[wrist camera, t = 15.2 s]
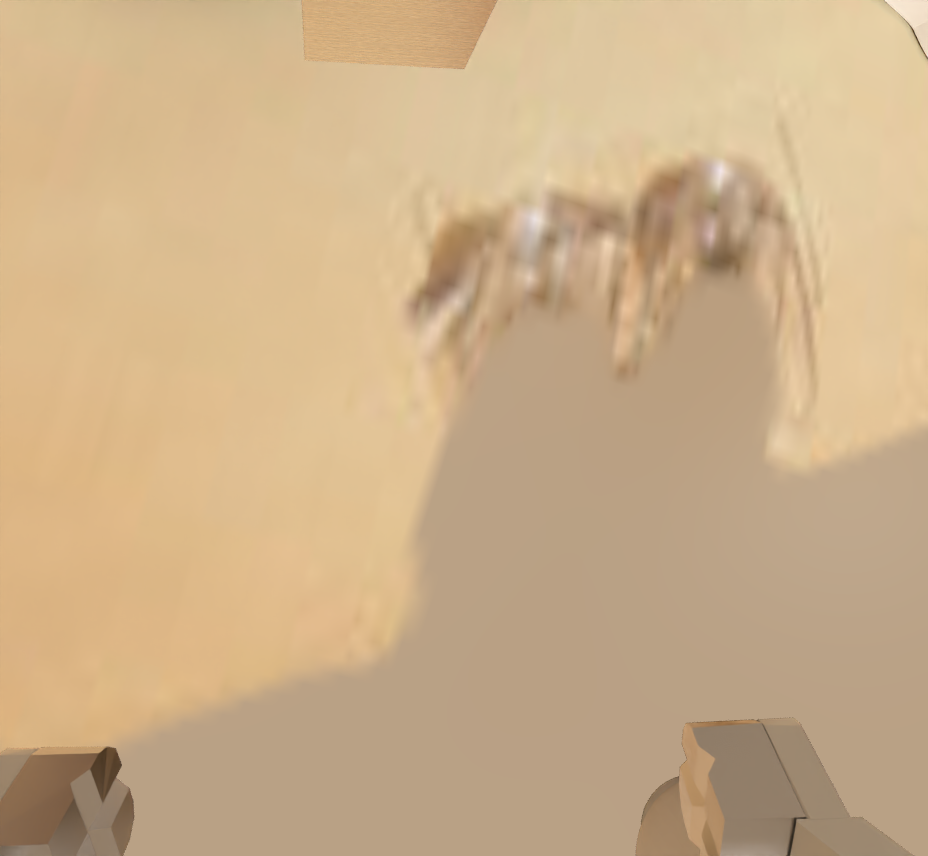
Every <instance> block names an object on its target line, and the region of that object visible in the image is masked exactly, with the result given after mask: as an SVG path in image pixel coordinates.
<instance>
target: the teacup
mask: <svg viewBox="0 0 928 856" xmlns="http://www.w3.org/2000/svg"><path fill="white" fill-rule="evenodd" d="M636 856H700V849H699V848H698V847H697V846H696V845H695V844H694V843H693V842H692V841H691V840H690V839H689V837H688V834H687V830H686V827H685V823H684V819H683V814H682V809H681V803H680V791H679V777H675V778H673V779H671V780H669V781H667V782H665V783H664V784H662V785H661V786H660V787H659V788H658V789H656V791H655V792H654V793H653V794H652V796H651V797H650V798H649V800H648V802H647V804H646V806H645V808H644V811H643V815H642V820H641V828H640V830H639V834H638V838H637V844H636Z"/></svg>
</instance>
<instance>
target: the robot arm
mask: <svg viewBox="0 0 928 856" xmlns="http://www.w3.org/2000/svg"><path fill="white" fill-rule="evenodd" d="M885 1H886V2H887V3H888V4H889V5H890V6H891V7H892V8H893V9H894V10H895V11H897V12H898V13H899V14H900V15H901V16H902V17H903V18H904V19H905V20H906V21H907V22H908V23H909V24H910V26H911V27H912V28H913V30H914V32H915V34H916V36H917V38H918V40H919V42H920V44H921V46H922V48H923V50H924V52H925V54H926V56H927V57H928V0H885ZM682 746H683V749H684V752H685V755H686V758H687V760H686V761H685V762H684V763H683V764H682V765H681V767H680V774H679V775H680V776H679V791H680V803H681V809H682V814H683V819H684V823H685V827H686V830H687V834H688V837H689V839H690V840H691V841H692V842H693V843H694V844H695V845H696V846H697V847H698V848H699V849H700V856H914V855H913V854H911V853H910V852H909V851H907V850H906V849H904V848H903V847H902V846H900V845H899V844H898V843H896V842H895V841H894V840H892V839H891V838H890V837H888V836H887V835H885V834H884V833H883V832H881V831H880V830H879V829H877V828H876V827H875V826H873V825H872V824H871V823H869V822H868V821H867V820H865V819H864V818H862V817H850V815H849V813H848V812H847V810H846V808H845V806H844V804H843V802H842V800H841V798H840V797H839V795H838V793H837V791H836V789H835V788H834V786H833V784H832V782H831V780H830V778H829V776H828V774H827V773H826V771H825V769H824V767H823V765H822V763H821V761H820V760H819V758H818V756H817V754H816V752H815V751H814V748H813V747H812V745H811V744H810V741H809V739H808V737H807V736H806V734H805V732H804V730H803V728H802V726H801V724H800V723H799V722H798V721H797V720H795V719H794V718H777V719H758V720H734V721H714V722H696V723H686V724H685V726H684V729H683V736H682ZM121 766H122V764H121V761H120V758H119V756H118V753H117V751H116V748H112V747H41V748H7V749H6V750H4V751H3V752H1V753H0V856H123V855H124V852H125V850H126V848H127V845H128V843H129V840H130V836H131V831H132V826H133V821H134V804H133V798H132V795H131V791H130V788H129V787H128V786H126V785H125V784H124V783H122V782H121V781H120V780H119V779H117V778H116V776H117V774H118V772H119V770H120V768H121Z"/></svg>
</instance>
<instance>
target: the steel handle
mask: <svg viewBox="0 0 928 856" xmlns="http://www.w3.org/2000/svg"><path fill="white" fill-rule="evenodd" d="M496 2H497V0H302V15H303V34H304V54H305V60H312V61H329V62H347V63H365V64H382V65H400V66H418V67H435V68H453V69H464V68H465V66H466V64H467V62H468V60H469V58H470V56H471V54H472V52H473V50H474V48H475V46H476V43H477V41H478V39H479V37H480V35H481V33H482V31H483V29H484V27H485V25H486V23H487V21H488V19H489V16H490V14H491V12H492V10H493V8H494V6H495V4H496Z"/></svg>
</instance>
